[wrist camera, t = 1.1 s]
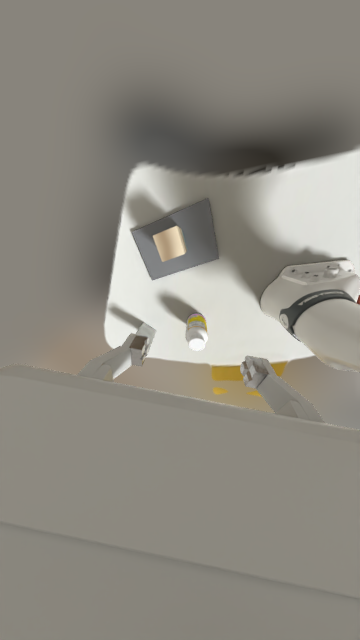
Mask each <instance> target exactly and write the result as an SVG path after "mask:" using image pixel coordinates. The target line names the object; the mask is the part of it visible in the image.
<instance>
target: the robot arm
mask: <svg viewBox="0 0 360 640" xmlns="http://www.w3.org/2000/svg"><path fill="white" fill-rule="evenodd" d="M293 269H294V271H293V272H292V270H293ZM348 270H349V271H348ZM359 292H360V278H359V277H358V275H356V274H355V268H354V265H353V263H352V262H351V261H350V260H339V261H329V262H320V263H311V264H302V265H292V266H287V267H285V268H284V269H283V270H282V272H281V273H280V275H279V276H278V278H277V279H276V280H274V281H273V282H272V283H271V284H270V285H269V286H268V287H267V288H266V289H265V291H264V293H263V294H262V297H261V302H260V305H261V309H262V311H263V312H264V314H266V315H267V316H269V317H271V318H273V319H275V320H277V321H278V322H280V323H281V324H282V325H283V327H284V328H285V329H286V330H287V331H288V332H289V333H290V334H291V335H292V336H293V337H294V338H296V339H297V340H298V341H300V342H302V343H303V344H304V345H305V346H306V347H307V348H308V349H309V350H310V351H312V352H313V353H314V354H315V355H316V356H317V357H318V358H319V359H320V360H321V361H322V362H323V363H324V364H326V365H328V366H330V367H332V368H335V369H340V370H347V371H357V372H359V373H360V295H359ZM358 295H359V297H358ZM357 298H358V300H357ZM356 300H357V303H356ZM148 342H149V337H147V336H142V335H137V334H132V333H131V334H130V335H129V336H128V338H127V339H126V341H125V342H124V344H123V345H122V346H119V347H117V348H115V349H113V350H111V351H109V352H107V353H105V354H103V355H101V356H99V357H96V358H94V359H92V360H90V361H89V362H88V363H87V364H86V365H85V367H84V368H83V369H82V370H81V371H80V372H79V373H78V375H74V374H69V373H64V372H58V371H53V370H48V369H43V368H38V367H33V366H28V365H23V364H13V365H9V366H6V367H2V368H0V640H360V430H357V429H352V428H346V427H341V426H336V425H331V424H326V423H325V422H324V421H323V419H322V418H321V416H320V415H319V413H318V412H317V410H316V409H315V408H314V406H313V404H312V403H310V402H309V401H308V400H307V399H306V398H304V397H303V396H302V395H301V394H299V393H298V392H297V391H296V390H295V389H293V388H292V387H291V386H290V385H289V384H287V383H286V382H285V381H284V380H283V379H281V378H280V377H279V376H277V375H276V374H275V372H274V370H273V368H272V367H271V365H270V363H269V361H268V360H267V359H264V358H258V357H253V356H246V357H245V361H244V362H242V364H241V368H240V369H241V374H242V375H243V376H244V378H243V380H244V383H245V386H246V387H251V388H255V389H257V391H258V392H259V393H260V394H261V396H262V397H263V398H264V399H265V401H266V402H267V403H268V404H269V406H270V407H271V408H272V409H273V410H274V412H275V413H269V412H264V411H259V410H254V409H249V408H243V407H239V406H233V405H228V404H223V403H218V402H213V401H208V400H202V399H197V398H192V397H187V396H182V395H176V394H171V393H167V392H161V391H156V390H151V389H146V388H141V387H135V386H130V385H125V384H120V383H115V382H114V381H113V379H114V378H116V377H117V376H118V375H119V374H121V373H122V372H123V371H125V370H126V369H127V368H129V367H130V366H131V365H136V366H142V365H143V363H144V360H145V356H147V353H148V350H149V344H148Z"/></svg>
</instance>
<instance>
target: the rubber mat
mask: <svg viewBox="0 0 360 640" xmlns="http://www.w3.org/2000/svg"><path fill="white" fill-rule="evenodd" d="M175 226H178V227H179V228H181V229H182V233H183V236H184V240H185V244H186V247H187V251H186V253H185V254H183V255H181V256H178V257H175V258H172V259H170V260H167V261H164V262H162V260H161V257H160V255H159V252H158V249H157V246H156V244H155V241H154V238H153V235H156V234H158V233H160V232H163V231H165V230H168V229H170V228H172V227H175ZM132 234H133V236H134V239H135V241H136V243H137V246H138V248H139V250H140V253H141V255H142V257H143V260H144V262H145V264H146V267H147V269H148V271H149V274H150V276H151V278H152V280H155V279H158V278H161V277H164V276H167V275H170V274H173V273H176V272H179V271H182V270H185V269H188V268H192V267H195V266H198V265H201V264H204V263H207V262H210V261H213V260H216V259H219V256H218V250H217V244H216V239H215V233H214V227H213V221H212V216H211V210H210V204H209V199H208V198H207V199H205V200H203V201H201V202H198V203H196V204H194V205H192V206H189V207H187V208H185V209H183V210H180V211H178V212H176V213H174V214H171V215H169V216H167V217H165V218H162V219H160V220H158V221H156V222H153V223H151V224H149V225H147V226H144V227H142V228H140V229H138V230H136V231H133V232H132Z"/></svg>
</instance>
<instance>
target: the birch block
mask: <svg viewBox="0 0 360 640" xmlns="http://www.w3.org/2000/svg"><path fill="white" fill-rule="evenodd" d="M153 238H154V241H155V244H156V246H157V249H158V252H159V255H160V257H161V260H162V262H164V261H167V260H170V259H172V258H175V257H178V256H181V255H183V254H185V253H186V251H187V247H186V244H185V240H184V236H183V233H182V229H181V228H179V227H178V226H175V227H172V228H170V229H168V230H165V231H163V232H160V233H158V234H156V235H153Z"/></svg>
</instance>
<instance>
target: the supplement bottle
mask: <svg viewBox="0 0 360 640" xmlns="http://www.w3.org/2000/svg"><path fill="white" fill-rule="evenodd" d="M207 339H208V333H207V326H206V320H205V318H204V316H203V315H201V314H192V315H190V316H189V317H188V319H187V326H186V340H187V342H188V346H189V348H190V349H191V350H194V351H200V350H202V349H204V347H205V343H206V341H207Z"/></svg>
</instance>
